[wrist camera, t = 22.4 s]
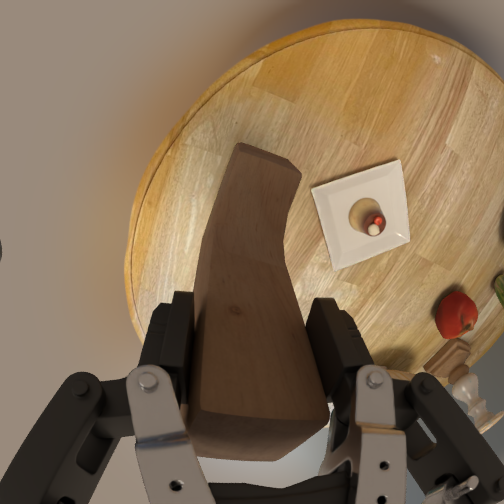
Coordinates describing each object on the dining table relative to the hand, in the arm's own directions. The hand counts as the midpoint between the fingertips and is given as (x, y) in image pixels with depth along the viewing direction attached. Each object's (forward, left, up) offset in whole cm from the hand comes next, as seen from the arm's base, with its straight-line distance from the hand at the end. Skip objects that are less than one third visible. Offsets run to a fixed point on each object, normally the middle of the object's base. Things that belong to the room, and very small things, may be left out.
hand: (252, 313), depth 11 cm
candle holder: (+54, -35, -22) cm, 68 cm away
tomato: (+41, -18, -22) cm, 50 cm away
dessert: (+16, -3, -22) cm, 28 cm away
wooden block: (0, 0, -14) cm, 14 cm away
